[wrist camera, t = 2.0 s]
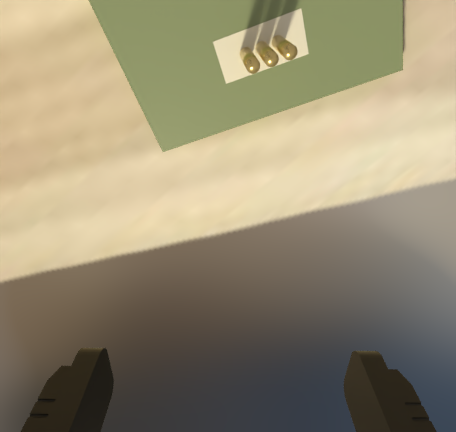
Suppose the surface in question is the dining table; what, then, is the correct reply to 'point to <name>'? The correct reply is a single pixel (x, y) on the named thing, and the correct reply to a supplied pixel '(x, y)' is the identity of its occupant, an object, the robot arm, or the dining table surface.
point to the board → (231, 62)
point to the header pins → (268, 53)
